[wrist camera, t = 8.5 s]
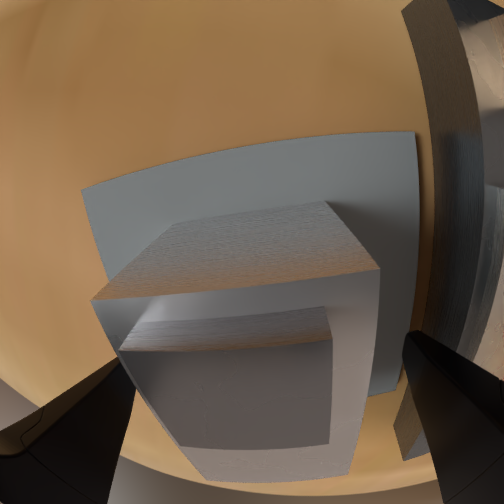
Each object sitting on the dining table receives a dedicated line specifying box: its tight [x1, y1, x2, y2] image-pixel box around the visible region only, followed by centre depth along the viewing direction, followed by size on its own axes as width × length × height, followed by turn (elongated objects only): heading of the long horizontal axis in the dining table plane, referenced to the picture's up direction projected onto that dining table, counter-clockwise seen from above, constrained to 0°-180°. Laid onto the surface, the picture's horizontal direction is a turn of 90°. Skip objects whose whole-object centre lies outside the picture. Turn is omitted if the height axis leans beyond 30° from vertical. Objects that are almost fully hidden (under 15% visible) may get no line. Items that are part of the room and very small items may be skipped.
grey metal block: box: [90, 201, 380, 483], centre depth 7 cm, size 8×5×6 cm, turn 10°
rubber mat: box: [81, 132, 420, 397], centre depth 10 cm, size 12×12×1 cm
